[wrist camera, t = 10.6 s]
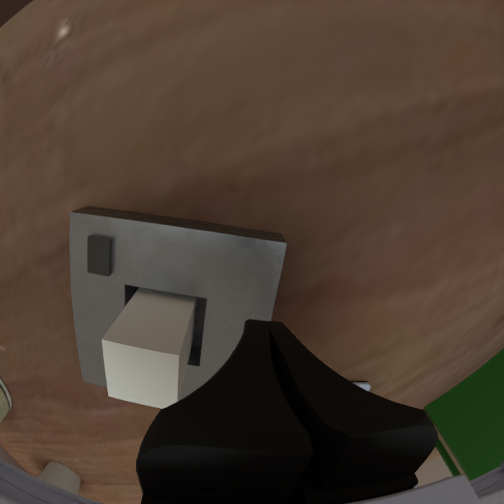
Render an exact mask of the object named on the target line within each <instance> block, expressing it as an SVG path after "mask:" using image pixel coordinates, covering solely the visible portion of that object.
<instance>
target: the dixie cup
mask: <svg viewBox="0 0 504 504" xmlns="http://www.w3.org/2000/svg"><path fill="white" fill-rule="evenodd" d="M38 479H40V480H43V481H45V482H47V483H49V484H52V485H54V486H56V487H59V488H61V489H63V490H66V491H68V492H71V493H74V494H76V495H78V493H79V488H80V483H81V479H80V477H79V476H78V475H77V474H76V473H75V472H74V471H72V470H71V469H69V468H68V467H66V466H64V465H62V464H60V463H57V462H54V461H50V462H49V463H48V464H47V466H46V467H45V469H44V470H43V471H42V473H41V474H40V476H39V477H38Z"/></svg>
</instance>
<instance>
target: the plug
mask: <svg viewBox="0 0 504 504" xmlns="http://www.w3.org/2000/svg"><path fill="white" fill-rule="evenodd" d="M197 300H198V297H196V296H189V295H183V294H177V293H171V292H165V291H159V290H153V289H147V288H142V287H139V289H138V290H137V291H136V293H135V294H134V295H133V297H132V298H131V299H130V301H129V302H128V303H127V305H126V306H125V308H124V309H123V310H122V312H121V313H120V314H119V316H118V317H117V319H116V320H115V321H114V323H113V324H112V325H111V327H110V328H109V330H108V331H107V333H106V334H105V335H104V337H103V338H102V348H103V358H104V366H105V374H106V381H107V388H108V395H109V396H110V397H114V398H118V399H121V400H126V401H130V402H134V403H138V404H143V405H147V406H152V407H157V408H162V409H163V408H166V407H168V406H170V405H172V404H174V403H176V402H178V401H179V399H180V395H181V390H182V386H183V381H184V377H185V373H186V368H187V364H188V360H189V355H190V351H191V347H192V343H193V338H194V329H195V319H196V309H197Z"/></svg>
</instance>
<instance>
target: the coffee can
mask: <svg viewBox="0 0 504 504" xmlns="http://www.w3.org/2000/svg"><path fill="white" fill-rule="evenodd" d="M11 408H12V399H11V396H10V394H9V391H8V389H7V388H6V386H5V384H4V382H3V381H2V380H1V378H0V423H1V421H2V420H3V418H4V417H5V416H6V414H7V413H8V411H10V410H11Z"/></svg>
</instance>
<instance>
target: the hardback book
mask: <svg viewBox="0 0 504 504" xmlns="http://www.w3.org/2000/svg"><path fill="white" fill-rule="evenodd" d="M425 411H426V413H427V414H428V416H429V417H430V419H431V420H432V422H433V424H434V427H435V428H436V430H437V432H438V439H437V442H436V445H435V446H436V448H437V450H438V451H439V453H440V455H441V456H442V458H443V460H444V461H445V463H446V465H447V467H448V468H449V470H450V472H451V474H452V475H453V476H457V475H465V476H466V477H467V479H468V481H471V480H473V479H475V478H477V477H480V476H482V475H484V474H486V473H488V472H490V471H491V470H493V469H495V468H497V467H499V466H501V464H502V462H503V461H504V348H503V349H502V350H501V351H500V352H499V353H498V354H497V355H495V356H494V357H493V358H492V359H491V360H489V361H488V362H487V363H486V364H484V365H483V366H482V367H481V368H479V369H478V370H477V371H476V372H474V373H473V374H472V375H470V376H469V377H468V378H466V379H465V380H464V381H462V382H461V383H460V384H458V385H457V386H455V387H454V388H453V389H451V390H450V391H448V392H447V393H445V394H444V395H442V396H441V397H439V398H438V399H436V400H435V401H433V402H432V403H430V404H428V405H427V406H425Z"/></svg>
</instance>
